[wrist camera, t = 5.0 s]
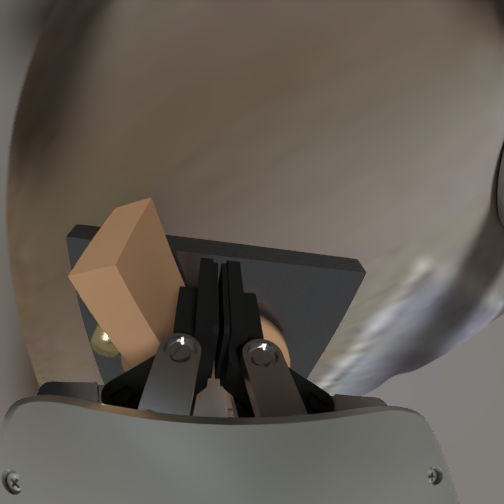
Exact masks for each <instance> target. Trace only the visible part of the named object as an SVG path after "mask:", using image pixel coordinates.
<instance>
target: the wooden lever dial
mask: <svg viewBox="0 0 504 504" xmlns="http://www.w3.org/2000/svg"><path fill="white" fill-rule="evenodd" d="M68 277H69V279H70V280H71V282H72V284H73V285H74V287H75V289H76V290H77V292H78V293H79V295H80V297H81V298H82V300H83V301H84V303H85V304H86V306H87V307H88V309H89V311H90V312H91V313H92V315H93V316H94V318H95V319H96V321H97V322H98V324H99V325H100V327H101V328H102V329H103V331H104V332H105V333H106V335H107V336H108V338H109V339H110V340H111V342H112V343H113V344H114V346H115V347H116V348H117V349H118V351H119V352H120V353H121V362H122V366H123V369H124V371H125V372H127V371H128V370H130V369H132V368H133V367H135V366H137V365H139V364H140V363H142V362H144V361H145V360H147V359H149V358H150V357H152V356H154V355H156V353H157V350H158V347H159V344H160V343H161V341H162V339H164V338H165V337H166V336H168V335H170V334H173V329H174V322H175V314H176V307H177V301H178V294H179V288H180V286H183V287H186V286H185V284H184V282H183V279H182V277H181V274H180V272H179V269H178V267H177V264H176V262H175V259H174V257H173V254H172V252H171V249H170V247H169V244H168V241H167V239H166V236H165V233H164V231H163V228H162V225H161V223H160V220H159V217H158V214H157V211H156V209H155V206H154V203H153V200H152V197H151V198H147V199H144V200H141V201H137V202H134V203H130V204H127V205H124V206H121V207H117V208H115V209H114V211H113V212H112V213H111V215H110V216H109V217H108V218H107V220H106V221H105V223H104V224H103V225H102V227H101V228H100V229H99V231H98V232H97V234H96V235H95V236H94V238H93V239H92V241H91V242H90V244H89V245H88V246H87V248H86V249H85V251H84V252H83V254H82V255H81V257H80V258H79V260H78V261H77V263H76V265H75V266H74V268H73V269H72V271H71V272H70V274H69V276H68ZM260 319H261V325H262V331H263V336H264V339H265V340H269V341H271V342H273V343H275V344H276V345H277V346H278V347H279V348H280V350H281V351H282V353H283V356H284V358H285V361H286V363H287V365H288V367H289V368H290V357H289V353H288V349H287V345H286V341H285V339H284V337H283V335H282V333H281V332H280V331H279V329H278V328H277V327H276V326H275V325H274V324H273V323H272V322H270V321H269V320H267V319H266V318H264V317H263V316H261V315H260ZM227 408H232V405H231V401H230V394H229V393H228V392H227V391H226V390H224V389H223V386H220V379H215V368H214V365H213V371H212V377H211V379H210V378H208V382H207V388H205V389H204V390H203V391H201V392H200V393H199V394H197V400H196V405H195V410H194V415H193V416H203V417H228V412H227Z"/></svg>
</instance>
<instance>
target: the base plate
mask: <svg viewBox="0 0 504 504" xmlns="http://www.w3.org/2000/svg"><path fill="white" fill-rule="evenodd" d="M100 228H101V227H95V226H86V225H78V224H77V225H76V226H75V227H74V228H73V229H72V230H71V232H70V233H69V234H68V235H67V236H66V238H67V245H68V252H69V258H70V264H71V269H73V268H74V266H75V265H76V263H77V261H78V260H79V258H80V257H81V255H82V254H83V252H84V251H85V249H86V248H87V246H88V245H89V244H90V242H91V241H92V239H93V238H94V236H95V235H96V234H97V232H98V231H99V229H100ZM165 236H166V239H167V241H168V244H169V247H170V249H171V252H172V254H173V257H174V259H175V262H176V264H177V267H178V269H179V272H180V274H181V277H182V279H183V282H184V284H185V286H186V287H193V288H198V278H199V269H200V260H201V258H211V259H213V260H214V261H213V262H216V263H218V282H219V276H220V269H221V264H222V263H226V262H227V260H229V261H239V262H240V265H241V274H242V282H243V290H244V292H246V293H255V294H256V297H257V302H258V308H259V314H260V315H261V316H263V317H264V318H266V319H267V320H269V321H270V322H272V323H273V324H274V325H275V326H276V327H277V328H278V329H279V331H280V332H281V333H282V335H283V337H284V339H285V341H286V345H287V349H288V353H289V357H290V368H291V369H292V370H294V371H295V372H297V373H298V374H300V375H301V376H303V377H304V378H306V379H307V377H308V376H309V374H310V372H311V371H312V369H313V368H314V366H315V365H316V363H317V361H318V360H319V358H320V357H321V355H322V353H323V352H324V350H325V348H326V347H327V345H328V343H329V341H330V340H331V338H332V336H333V335H334V333H335V331H336V329H337V328H338V326H339V324H340V322H341V320H342V319H343V317H344V315H345V313H346V311H347V309H348V308H349V306H350V304H351V302H352V300H353V298H354V296H355V294H356V292H357V290H358V288H359V286H360V284H361V282H362V280H363V278H364V276H365V274H366V271H365V270H364V268H363V267H362V266H361V264H360V263H359V261H358V260H357V259H350V258H343V257H335V256H328V255H320V254H313V253H305V252H297V251H289V250H282V249H274V248H266V247H258V246H250V245H243V244H235V243H227V242H219V241H211V240H203V239H195V238H186V237H178V236H170V235H165ZM76 293H77V298H78V302H79V306H80V310H81V314H82V317H83V321H84V325H85V328H86V332H87V335H88V338H89V342H90V345H91V348H92V351H93V354H94V357H95V360H96V363H97V365H98V368H99V371H100V374H101V376H102V379H103V381H104V384H105V385H106V384H107V383H108V382H109V381H111V380H113V379H114V378H116V377H118V376H120V375H121V374H123V373H125V371H124V369H123V366H122V362H121V353H120V352H119V351H118V349H117V348H116V347H115V346H114V344H113V343H112V342H111V340H110V339H109V338H108V336H107V335H106V333H105V332H104V331H103V329H102V328H101V327H100V325H99V324H98V322H97V321H96V319H95V318H94V316H93V315H92V313H91V312H90V311H89V309H88V307H87V306H86V304H85V303H84V301H83V300H82V298H81V297H80V295H79V293H78V292H77V290H76ZM227 410H233V409H232V408H227Z"/></svg>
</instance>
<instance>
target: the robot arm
mask: <svg viewBox="0 0 504 504" xmlns="http://www.w3.org/2000/svg"><path fill="white" fill-rule="evenodd" d="M497 205H498V214H499V217H500V221H501V223H502V225H503V227H504V151H503V155H502V160H501V164H500V170H499V177H498V188H497ZM213 261H214V260H213V259H211V258H201V260H200V269H199V278H198V288H193V287H183V286H180V288H179V294H178V301H177V307H176V314H175V322H174V329H173V334H170V335H168V336H166V337H165V338H164V339H162V341H161V343H160V344H159V347H158V350H157V353H156V355H154V356H152V357H150V358H149V359H147V360H145V361H144V362H142V363H140V364H139V365H137V366H135V367H133V368H132V369H130V370H128V371H127V372H125V373H123V374H121V375H120V376H118V377H116V378H114V379H113V380H111V381H109V382H108V383H107V384H106V385H98V384H97V382H57V381H51V382H46V383H44V384H42V385H41V387H40V388H39V389H38V392H37V395H36V396H29V397H25V398H22V399H20V400H17V401H16V402H14V404H13V405H11V407H10V408H9V409H8V411H7V413H6V414H5V417H4V419H3V421H2V423H1V426H0V504H459V503H458V499H457V495H456V491H455V488H454V484H453V481H452V478H451V475H450V471H449V468H448V466H447V463H446V460H445V457H444V454H443V452H442V449H441V447H440V445H439V442H438V440H437V438H436V436H435V434H434V432H433V430H432V428H431V427H430V425H429V423H428V422H427V421H426V419H425V418H424V417H423V416H422V415H421V414H420V413H418V412H416V411H413V410H411V409H408V408H403V407H396V406H387V405H386V403H385V402H384V401H382V400H381V399H379V398H374V397H361V396H349V395H339V394H335V396H330V395H329V394H328V393H327V392H325V391H324V390H322V389H321V388H319V387H318V386H316V385H315V384H313V383H312V382H310V381H309V380H307V379H306V378H304V377H303V376H301V375H300V374H298V373H297V372H295V371H294V370H292V369H291V368H289V367H288V365H287V363H286V361H285V358H284V356H283V353H282V351H281V350H280V348H279V347H278V346H277V345H276V344H275V343H273V342H271V341H269V340H265V339H264V336H263V331H262V325H261V319H260V314H259V308H258V302H257V297H256V294H255V293H246V292H244V290H243V282H242V274H241V265H240V262H239V261H229V260H227V262H226V263H222V264H221V269H220V276H219V282H218V263H216V262H213ZM213 365H214V368H215V379H220V386H223V389H224V390H226V391H227V392H228V393H229V394H230V401H231V405H232V409H233V413H234V416H235V418H230V417H203V416H193V415H194V410H195V405H196V400H197V394H199V393H200V392H201V391H203V390H204V389H205V388H207V382H208V378H210V379H211V377H212V371H213Z"/></svg>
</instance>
